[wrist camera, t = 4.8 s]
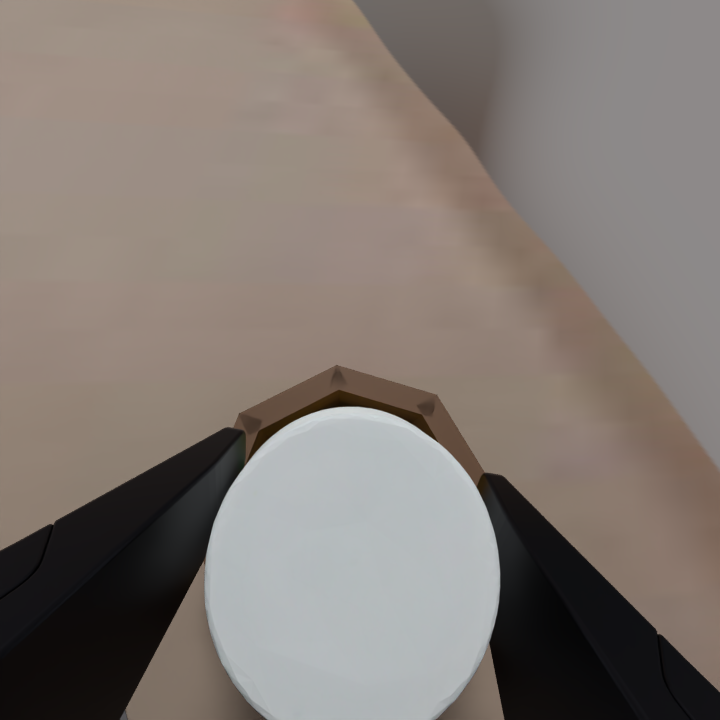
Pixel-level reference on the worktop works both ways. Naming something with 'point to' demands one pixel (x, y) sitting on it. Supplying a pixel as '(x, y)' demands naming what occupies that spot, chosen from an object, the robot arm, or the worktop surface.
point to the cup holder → (356, 391)
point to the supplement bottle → (351, 572)
